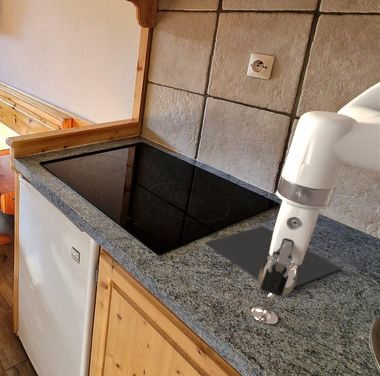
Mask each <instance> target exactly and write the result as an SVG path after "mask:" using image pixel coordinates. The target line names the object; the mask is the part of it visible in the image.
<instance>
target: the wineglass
mask: <svg viewBox="0 0 380 376" xmlns="http://www.w3.org/2000/svg"><path fill="white" fill-rule="evenodd" d="M272 258H273V256H271V255H270V256H268V257H267V259H266V260H265V262H264V263H263V265H262V267H261V269H260V271H259V276H258V279H257V280H258V284H259V285H260V286H261V285H262V282H263V279H264V276H265V273H266V270H267V268H268V269H269V267H270V264H271V261H272ZM277 260H278V259H276V260H275V263H276V264H277ZM275 263H274V264H275ZM286 265H287V263H286ZM285 267H286V266H285ZM296 280H297V264H295V263H293V260H292V263H291V266H290V269H289V272H288V279H287V282H286V285H285V288H284V291H283V293H282V295H281V296H286V295H289V294H290V293H291V292H292V291H293V290H294V289H295V288H294V286H295V284H296ZM293 288H294V289H293ZM275 296H276V295H275V294H272V293H270V292H268V293H267V302H266V305H265V307H264V306H255V307H253V308H252V309H251V315H252V316H253V318H255V319H256V320H257V321H259V322H260V323H264V324H266V325H274V324H276V323H278V321H279V317H278V315H277V314H276V313H275V312H274V311H273V310H271V309H270V305H271V303H272V301H273V300H274V299H275Z"/></svg>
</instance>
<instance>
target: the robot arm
mask: <svg viewBox="0 0 380 376" xmlns="http://www.w3.org/2000/svg"><path fill="white" fill-rule="evenodd" d="M345 167H351V168H356V169H360V170H365V171H370V172H374V173H380V81H379V82H378V83H376V84H373V85H372V86H370V87H369V88H368V89H366V90H364V92H362V93H361V94H359V95H357V96H356V97H355V98H354V99H352V100H351V101H349V102H348V103H347V104H346V105H344V106H343V107H342V108H340V110H338V111H337V112H334V111H325V110H311V111H307V112H305V113H303V114H302V115H301V116H300V118H299V120H298V122H297V125H296V127H295V130H294V135H293V138H292V141H291V144H290V147H289V151H288V154H287V156H286V160H285V164H284V167H283V169H282V173H281V176H280V179H279V183H278V185H277V189H276V192H275V194H276V196H277V197H278V198H279V199H280V200H282V201H281V205H280V208H279V211H278V214H277V217H276V220H275V225H274V228H273V237H272V242H271V246H270V252H269V254H270V255H271V256H273V258H272V261H271V264H270V267H269V269H268V268H267V270H266V273H265V276H264V279H263V282H262V285H260V289H261V290H262V291H265V292H267V293H269V292H270V293H272V294H275V295H274V296H278V297H281V296H283V295H282V293H283V291H284V288H285V285H286V282H287V279H288V272H289V269H290V266H291V263H292V260H293V263H295V264H297V265H301V264H302V262H303V259H304V256H305V253H306V250H308V247H309V245H310V242H311V239H312V237H313V236H312V235H313V233H314V231H315V228H316V225H317V222H318V218H319V216H320V212H321V210H326V209H329V208H330V206H331V204H332V201H333V198H334V195H335V193H336V191H337V188H338V185H339V182H340V179H341V177H342V175H343V171H344V169H345ZM276 259H278V260H277V264H276V263H275V260H276ZM274 263H275V264H274ZM286 263H287V265H286ZM285 266H286V267H285Z"/></svg>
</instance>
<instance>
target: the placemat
mask: <svg viewBox="0 0 380 376" xmlns="http://www.w3.org/2000/svg"><path fill="white" fill-rule="evenodd" d="M273 232H274V230H271V229H269V228H267V227H266V226H264V225H262V226H258V227H255V228H250V229H247V230H244V231H240V232H236V233H234V234H229V235H226V236H222V237H219V238H216V239H213V240H209V241H205V242H204V244H205V246H207V247H209V248H210V249H212V250H213V251H215V252H216V253H218V254H219V255H221V256H222V257H224V258H225V259H227V260H228V261H229V262H230V263H233V264H234V265H235V266H237V267H238V268H240V269H241V270H243V271H244V272H245V273H247V274H249V275H250V276H251V277H253V278H255V279H256V280H258V276H259V271H260V269H261V267H262V265H263V263H264V262H265V260H266V259H267V257H268V256H270V254H269V252H270V246H271V242H272V237H273ZM340 271H342V268H341V267H339V266H338V265H335V264H333V262H330V261H328V260H326V259H325V258H322V256H319V255H317V254H316V253H314V252H311V251H310V250H308V249H307V250H306V253H305V256H304V259H303V262H302V264H301V265H297V280H296V284H295V286H294V288H293V290H294V289H297V288H299V287H301V286H304V285H306V284H310V283H311V282H314V281H317V280H319V279H321V278H322V279H323V278H324V277H327V276H330V275H332V274H335V273H337V272H340Z"/></svg>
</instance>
